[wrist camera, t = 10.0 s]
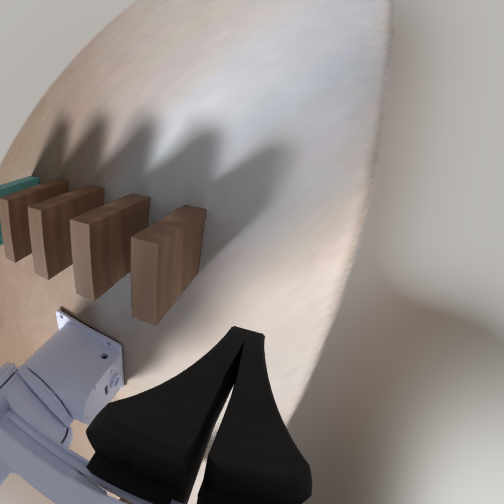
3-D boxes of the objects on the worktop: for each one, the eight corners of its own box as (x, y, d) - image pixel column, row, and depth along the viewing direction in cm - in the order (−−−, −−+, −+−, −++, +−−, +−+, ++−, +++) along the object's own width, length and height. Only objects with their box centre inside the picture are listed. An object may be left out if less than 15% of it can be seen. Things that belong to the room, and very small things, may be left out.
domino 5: (206, 209, 20) (158, 244, 13) (198, 272, 22) (156, 325, 15) (185, 204, 20) (131, 236, 14) (179, 267, 22) (132, 316, 16)
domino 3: (104, 187, 21) (40, 210, 14) (103, 244, 23) (48, 279, 16) (90, 185, 21) (27, 206, 14) (90, 240, 23) (35, 273, 16)
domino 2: (68, 181, 21) (7, 200, 15) (69, 233, 23) (15, 262, 17) (57, 179, 21) (-2, 197, 15) (58, 229, 23) (5, 257, 17)
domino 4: (150, 197, 20) (89, 224, 14) (146, 257, 22) (94, 301, 16) (132, 193, 20) (70, 219, 14) (130, 252, 22) (76, 293, 16)
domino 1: (39, 177, 22) (-16, 195, 15) (41, 225, 24) (-9, 250, 17) (31, 175, 22) (-23, 193, 15) (33, 222, 24) (-16, 245, 17)
